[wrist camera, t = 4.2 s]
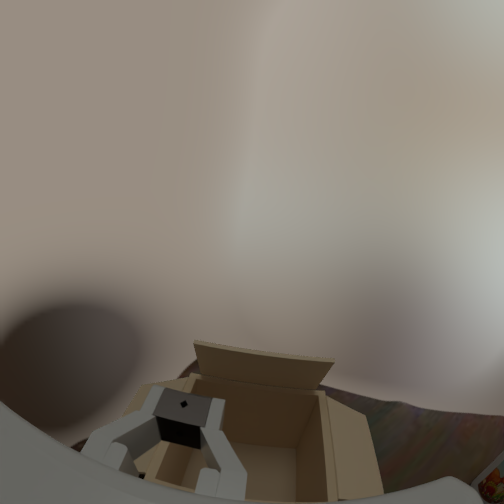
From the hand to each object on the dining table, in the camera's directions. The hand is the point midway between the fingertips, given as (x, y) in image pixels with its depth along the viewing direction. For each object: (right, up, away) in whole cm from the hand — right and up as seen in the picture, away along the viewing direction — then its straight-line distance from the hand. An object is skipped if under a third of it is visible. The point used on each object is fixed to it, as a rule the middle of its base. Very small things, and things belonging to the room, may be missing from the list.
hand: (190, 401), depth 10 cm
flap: (+3, -5, +15) cm, 16 cm away
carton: (+1, -23, +11) cm, 25 cm away
